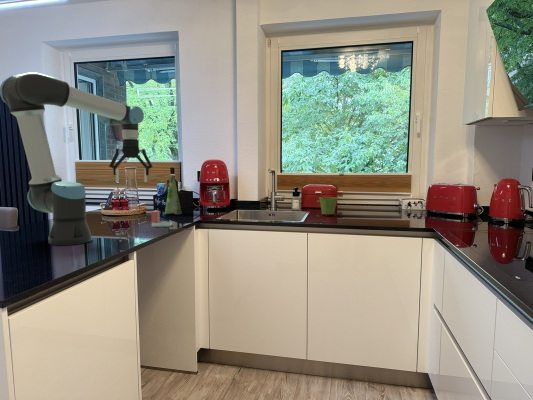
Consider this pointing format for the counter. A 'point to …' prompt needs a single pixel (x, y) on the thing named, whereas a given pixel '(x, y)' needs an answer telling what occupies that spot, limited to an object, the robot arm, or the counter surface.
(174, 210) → the pouch
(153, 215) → the block
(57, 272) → the counter surface
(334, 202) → the plant pot
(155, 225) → the console
